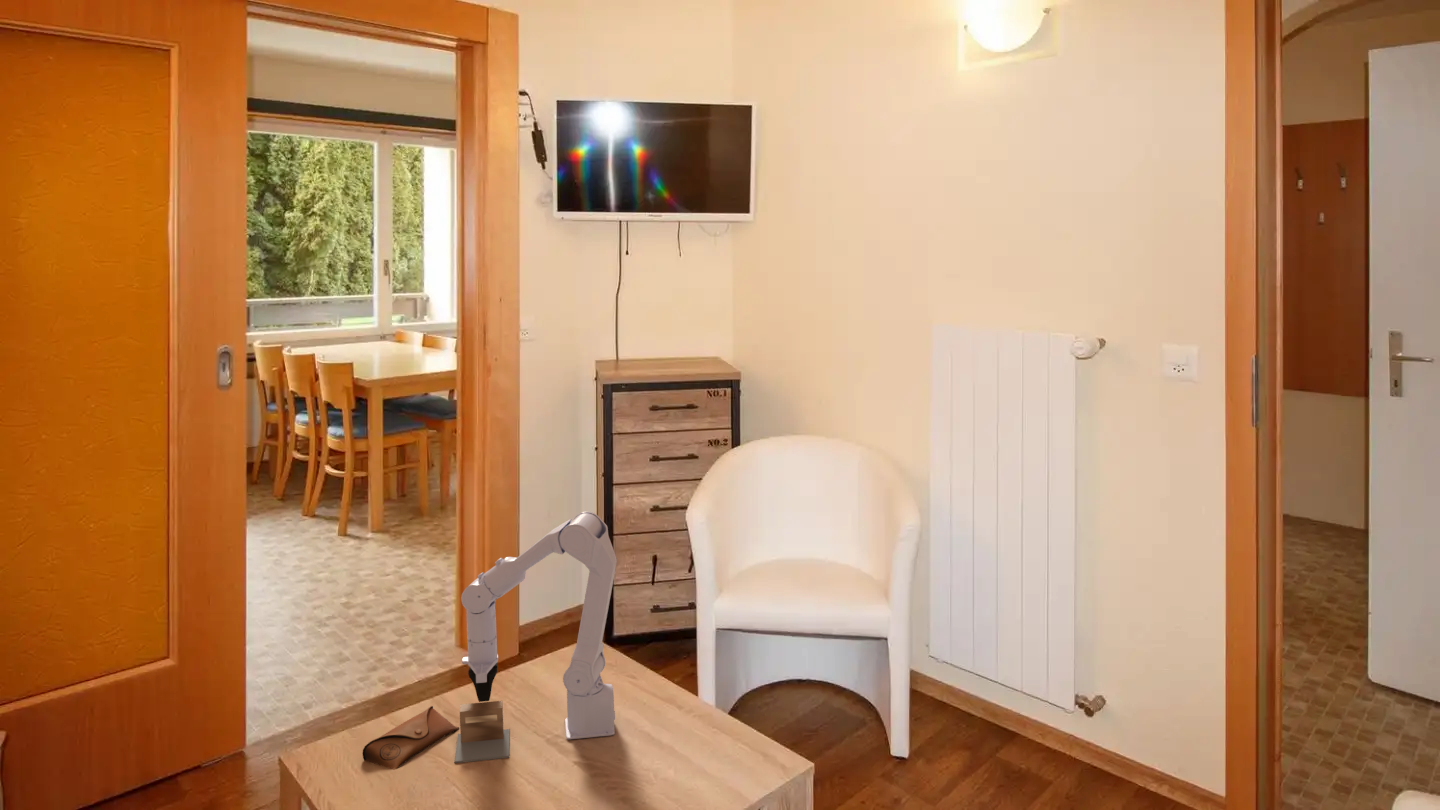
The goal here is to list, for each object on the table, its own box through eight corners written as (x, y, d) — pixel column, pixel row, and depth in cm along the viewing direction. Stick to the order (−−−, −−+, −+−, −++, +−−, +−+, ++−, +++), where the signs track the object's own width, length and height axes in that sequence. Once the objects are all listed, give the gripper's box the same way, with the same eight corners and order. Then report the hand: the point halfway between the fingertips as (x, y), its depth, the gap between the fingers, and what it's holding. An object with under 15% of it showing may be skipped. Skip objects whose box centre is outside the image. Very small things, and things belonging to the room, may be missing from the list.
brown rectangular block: (503, 730, 182) (502, 700, 181) (503, 738, 180) (502, 708, 178) (461, 734, 181) (460, 704, 180) (460, 742, 178) (459, 711, 177)
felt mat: (509, 730, 183) (509, 729, 183) (509, 757, 174) (508, 755, 174) (458, 735, 181) (458, 733, 181) (454, 763, 172) (454, 761, 171)
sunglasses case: (395, 771, 169) (380, 738, 169) (372, 780, 172) (357, 748, 172) (462, 726, 185) (448, 696, 185) (440, 736, 188) (426, 706, 188)
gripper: (463, 624, 190) (466, 685, 192) (458, 654, 176) (461, 719, 178) (498, 621, 192) (500, 682, 194) (496, 651, 178) (498, 716, 180)
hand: (484, 699), depth 186 cm, fingers closed
